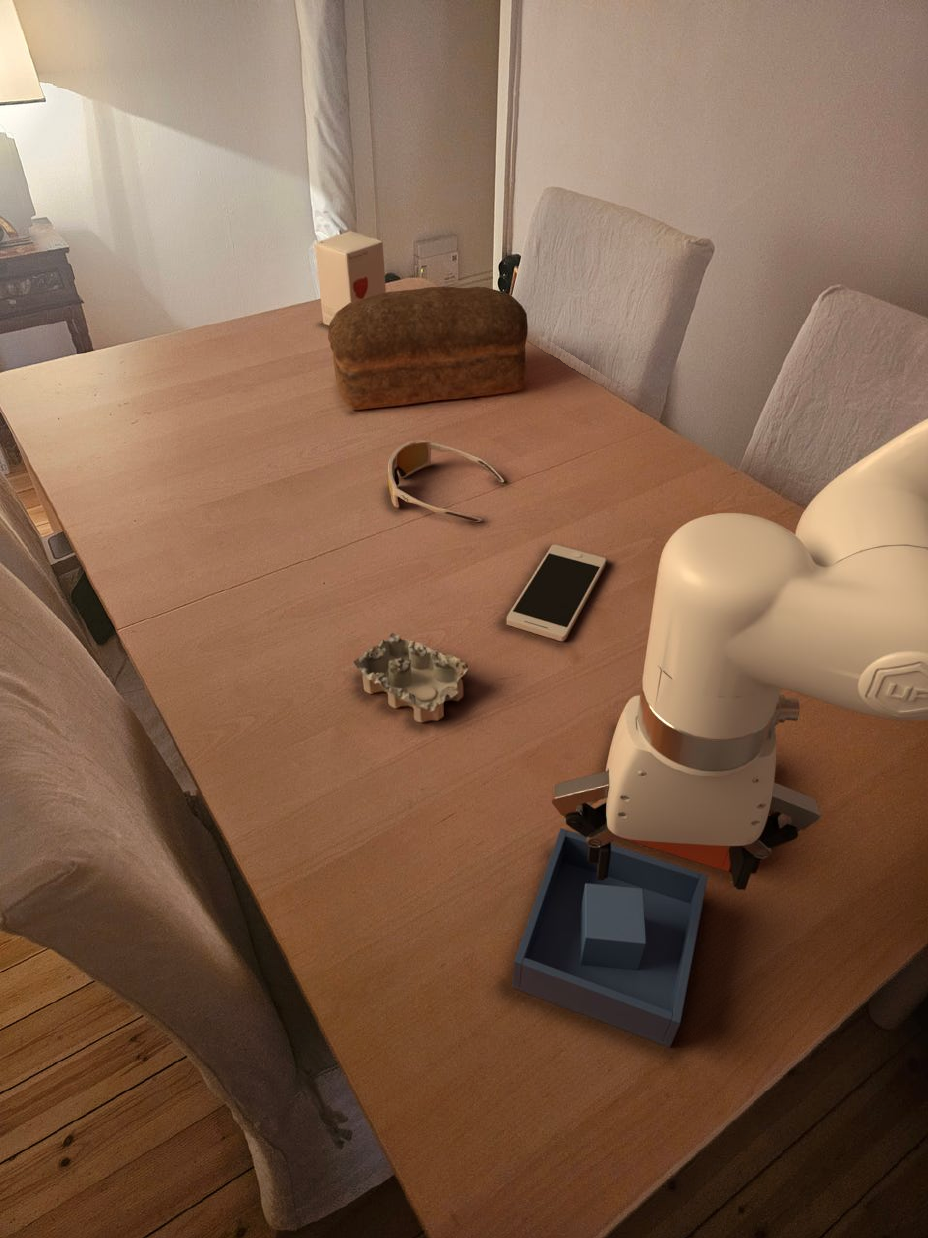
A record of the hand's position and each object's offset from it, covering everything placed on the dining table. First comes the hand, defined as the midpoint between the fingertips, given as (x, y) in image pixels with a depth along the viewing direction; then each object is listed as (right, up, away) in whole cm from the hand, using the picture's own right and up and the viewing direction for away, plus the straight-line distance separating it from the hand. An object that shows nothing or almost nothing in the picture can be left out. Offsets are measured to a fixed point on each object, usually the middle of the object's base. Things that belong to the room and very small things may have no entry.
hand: (668, 867), depth 60 cm
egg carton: (-20, +11, +27) cm, 35 cm away
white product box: (-35, +74, +96) cm, 126 cm away
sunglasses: (-18, +35, +54) cm, 67 cm away
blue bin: (-3, -8, +6) cm, 11 cm away
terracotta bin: (+4, +2, +16) cm, 17 cm away
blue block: (-3, -8, +6) cm, 10 cm away
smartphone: (-4, +21, +38) cm, 44 cm away
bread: (-20, +57, +78) cm, 99 cm away
